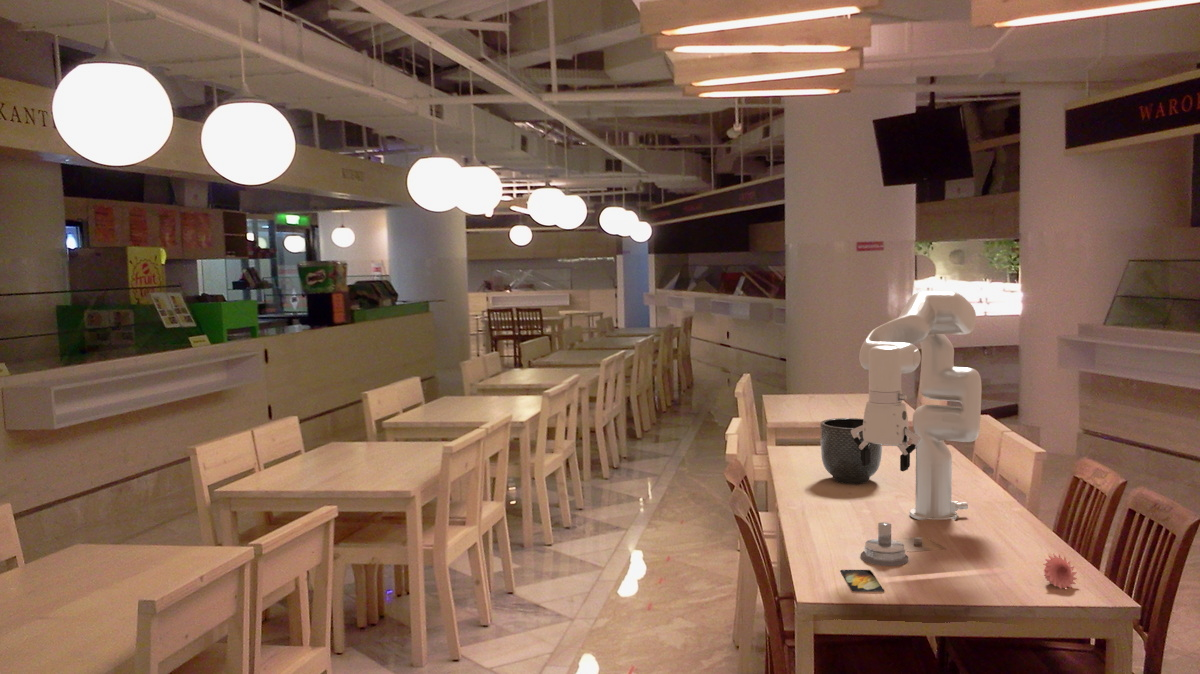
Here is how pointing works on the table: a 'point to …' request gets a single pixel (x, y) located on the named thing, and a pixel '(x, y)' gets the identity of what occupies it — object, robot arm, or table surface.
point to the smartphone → (862, 581)
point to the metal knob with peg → (884, 546)
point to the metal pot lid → (884, 562)
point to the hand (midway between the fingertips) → (885, 467)
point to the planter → (846, 451)
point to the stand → (920, 544)
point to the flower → (1059, 572)
